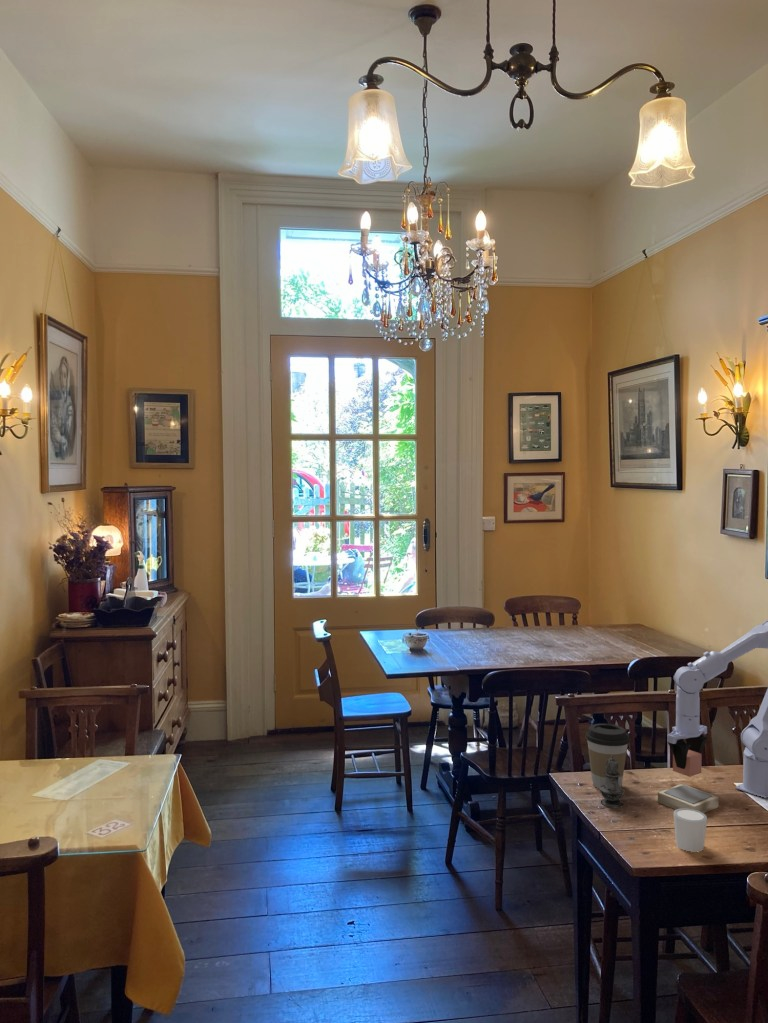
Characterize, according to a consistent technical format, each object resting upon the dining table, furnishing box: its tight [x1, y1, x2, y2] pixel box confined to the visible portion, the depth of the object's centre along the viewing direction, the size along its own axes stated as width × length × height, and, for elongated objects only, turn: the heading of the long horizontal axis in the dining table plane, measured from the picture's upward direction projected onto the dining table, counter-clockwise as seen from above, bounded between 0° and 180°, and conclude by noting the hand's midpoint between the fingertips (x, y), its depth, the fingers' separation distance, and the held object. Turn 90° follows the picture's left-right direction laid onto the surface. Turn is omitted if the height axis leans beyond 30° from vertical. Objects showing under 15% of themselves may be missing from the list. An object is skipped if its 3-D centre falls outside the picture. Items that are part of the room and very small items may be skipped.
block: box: [672, 750, 703, 778], centre depth 194 cm, size 5×5×5 cm
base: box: [657, 783, 720, 814], centre depth 183 cm, size 10×10×3 cm
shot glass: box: [673, 809, 708, 853], centre depth 162 cm, size 7×7×7 cm
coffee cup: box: [584, 723, 631, 790], centre depth 195 cm, size 11×11×15 cm
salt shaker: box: [599, 755, 625, 809], centre depth 184 cm, size 6×6×12 cm
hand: (687, 765), depth 194 cm, fingers closed on block, 5 cm apart
